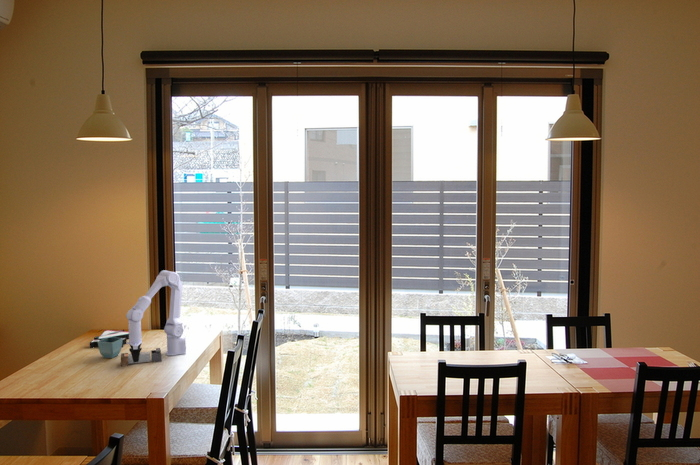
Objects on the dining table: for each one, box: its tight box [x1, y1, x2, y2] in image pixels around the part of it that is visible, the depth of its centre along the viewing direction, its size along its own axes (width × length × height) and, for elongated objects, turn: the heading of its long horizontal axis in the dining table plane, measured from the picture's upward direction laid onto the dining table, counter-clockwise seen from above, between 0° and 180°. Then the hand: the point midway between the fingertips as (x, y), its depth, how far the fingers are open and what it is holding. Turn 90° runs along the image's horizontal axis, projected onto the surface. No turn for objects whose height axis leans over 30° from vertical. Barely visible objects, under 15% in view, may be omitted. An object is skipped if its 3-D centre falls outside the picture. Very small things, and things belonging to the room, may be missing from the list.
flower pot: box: [97, 337, 123, 359], centre depth 274 cm, size 9×9×9 cm
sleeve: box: [150, 347, 162, 363], centre depth 268 cm, size 4×6×5 cm
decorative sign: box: [89, 329, 129, 349], centre depth 302 cm, size 18×4×30 cm
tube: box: [124, 351, 151, 365], centre depth 264 cm, size 12×4×4 cm, turn 112°
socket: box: [120, 352, 129, 367], centre depth 262 cm, size 3×7×4 cm, turn 22°
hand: (136, 359), depth 264 cm, fingers open, 7 cm apart
